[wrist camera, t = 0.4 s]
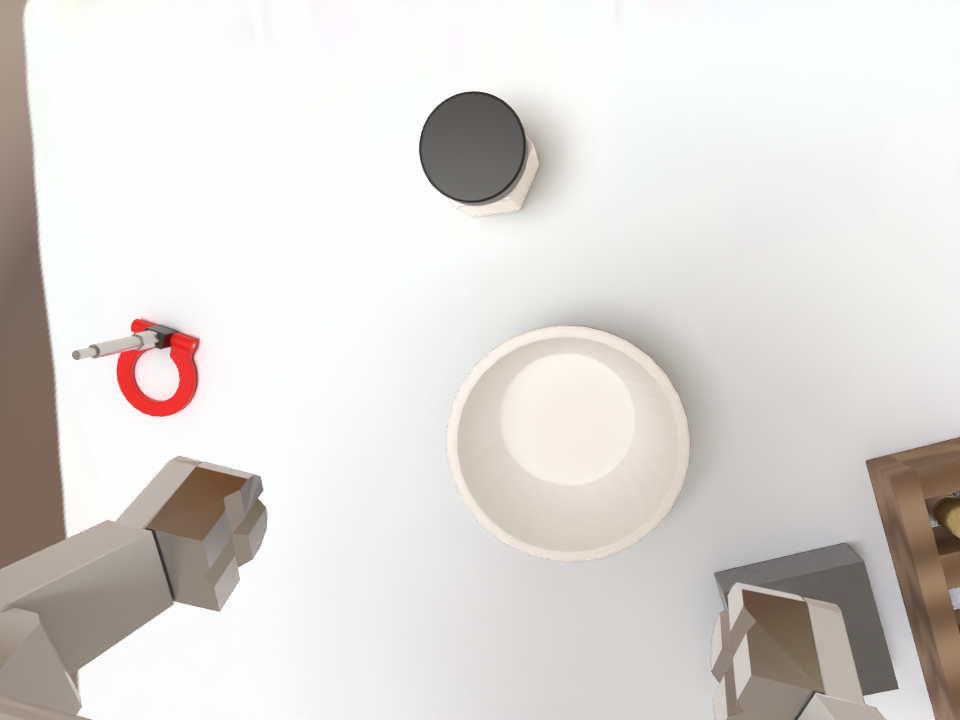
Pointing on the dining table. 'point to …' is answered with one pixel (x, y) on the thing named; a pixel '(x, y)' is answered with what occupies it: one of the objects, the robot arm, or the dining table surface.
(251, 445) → the dining table surface
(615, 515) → the bowl
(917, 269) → the dining table surface
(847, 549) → the socket block
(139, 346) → the tow hook
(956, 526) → the cylinder
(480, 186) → the jar
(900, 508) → the rack
